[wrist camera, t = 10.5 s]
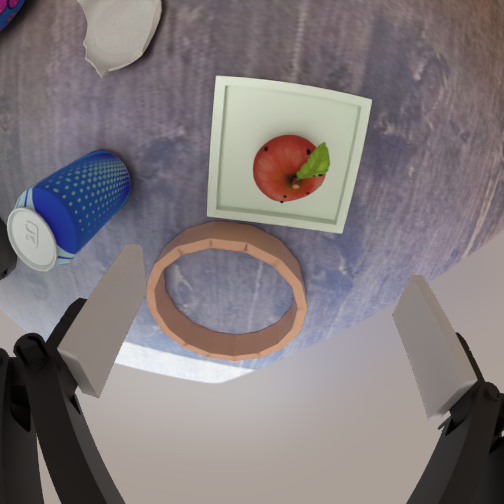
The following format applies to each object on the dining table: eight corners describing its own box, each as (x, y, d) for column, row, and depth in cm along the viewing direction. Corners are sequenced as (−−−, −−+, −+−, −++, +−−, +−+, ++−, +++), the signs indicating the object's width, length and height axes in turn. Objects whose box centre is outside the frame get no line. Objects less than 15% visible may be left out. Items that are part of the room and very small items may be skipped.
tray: (209, 209, 36) (206, 216, 34) (219, 76, 28) (216, 75, 26) (338, 226, 36) (342, 233, 34) (366, 98, 28) (372, 99, 26)
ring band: (163, 328, 48) (155, 348, 44) (152, 213, 37) (138, 229, 33) (288, 345, 48) (288, 366, 44) (318, 233, 37) (323, 252, 33)
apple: (307, 193, 33) (319, 236, 25) (249, 179, 33) (240, 217, 25) (327, 130, 29) (349, 150, 21) (265, 114, 29) (262, 126, 21)
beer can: (146, 191, 35) (80, 263, 22) (102, 217, 38) (36, 289, 24) (114, 135, 31) (26, 180, 18) (71, 168, 34) (-9, 222, 20)
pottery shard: (132, 82, 28) (112, 83, 24) (71, 47, 25) (47, 47, 21) (183, 9, 23) (169, -2, 19) (115, -21, 20) (94, -30, 16)
